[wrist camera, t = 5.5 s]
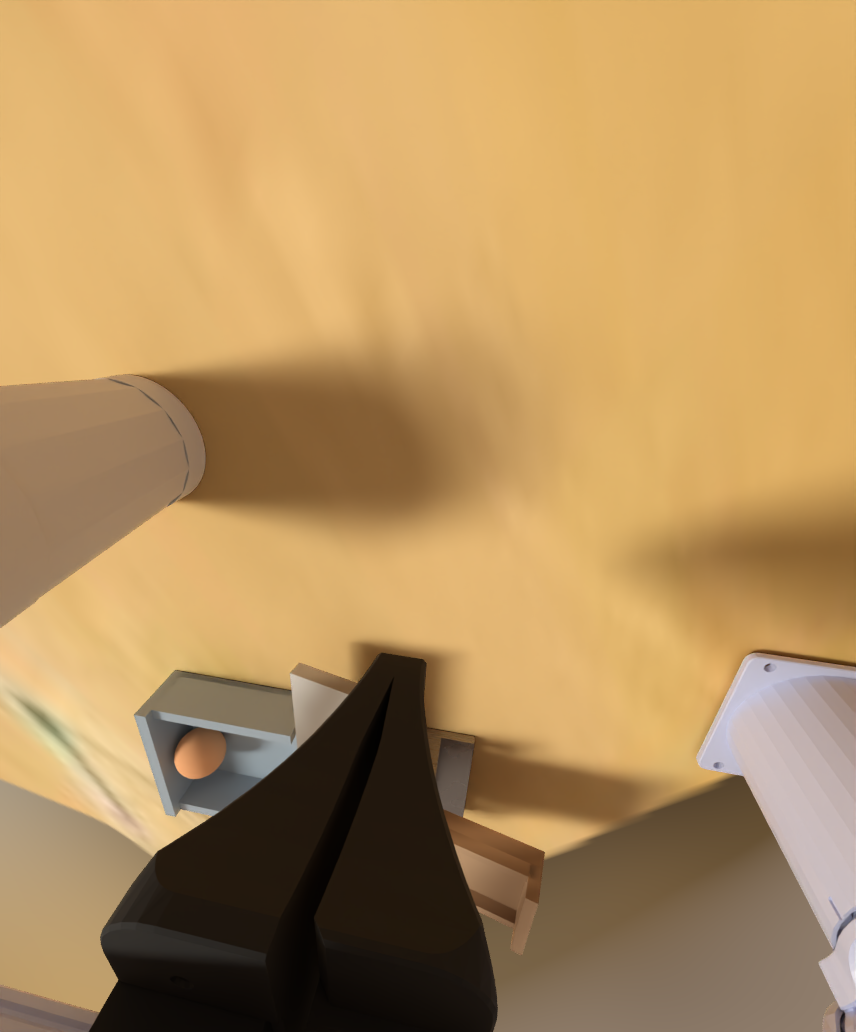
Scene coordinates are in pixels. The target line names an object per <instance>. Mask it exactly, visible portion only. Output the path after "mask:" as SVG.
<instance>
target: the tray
mask: <svg viewBox="0 0 856 1032" xmlns="http://www.w3.org/2000/svg"><path fill="white" fill-rule="evenodd" d="M134 717H135V720H136V723H137V726H138V729H139V732H140V735H141V738H142V742H143V745H144V748H145V751H146V754H147V757H148V760H149V763H150V766H151V770H152V773H153V776H154V779H155V782H156V785H157V788H158V791H159V795H160V798H161V801H162V804H163V807H164V810H165V813H166V815H170V816H175V817H176V815H177V814H178V812H179V811H180V809H182V810H187V811H192V812H196V813H201V814H206V815H210V816H214V815H215V814H216V813H218V812H219V811H221V810H222V809H223V808H225V807H226V806H227V805H229V804H230V803H232V802H233V801H234V800H236V799H237V798H238V797H240V796H241V795H243V794H244V793H245V792H247V791H248V790H249V789H251V788H252V787H253V786H255V785H256V784H257V783H258V782H260V781H261V780H262V779H263V778H264V777H266V776H267V775H268V774H269V773H270V772H272V771H273V770H274V769H275V768H276V767H278V766H279V765H280V764H281V763H282V762H283V761H285V760H286V759H287V758H288V757H289V756H290V755H291V754H292V753H293V752H295V751H296V750H297V740H296V729H295V719H294V709H293V699H292V691H289V690H283V689H278V688H272V687H267V686H261V685H255V684H250V683H244V682H238V681H233V680H227V679H221V678H216V677H210V676H204V675H199V674H193V673H188V672H182V671H176V670H175V671H174V672H173V673H172V674H171V675H170V676H169V677H168V678H167V679H166V681H165V682H164V683H163V684H162V685H161V686H160V687H159V688H158V689H157V690H156V691H155V693H154V694H153V695H152V696H151V697H150V698H149V699H148V700H147V701H146V702H145V703H144V704H143V706H142V707H141V708H140V709H139V710H138V711H137V712H136V713H135V714H134ZM198 727H201V728H207V729H212V730H217V731H220V732H221V733H222V734H223V736H224V738H225V740H226V754H225V757H224V759H223V761H222V763H221V764H220V766H219V767H218V768H217V769H216V770H215V771H214V772H213V773H211V774H210V775H208V776H206V777H203V778H199V779H190V778H187V777H184V776H183V775H181V774H180V773H179V772H178V770H177V769H176V766H175V763H174V754H175V750H176V747H177V745H178V743H179V742H180V740H181V739H182V738H183V737H184V736H185V735H186V734H187V733H188V732H190V731H191V730H193V729H195V728H198Z"/></svg>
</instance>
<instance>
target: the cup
mask: <svg viewBox="0 0 856 1032" xmlns="http://www.w3.org/2000/svg"><path fill="white" fill-rule="evenodd" d="M205 463H206V454H205V446H204V442H203V438H202V435H201V433H200V430H199V428H198V426H197V424H196V422H195V420H194V418H193V417H192V415H191V414H190V412H189V411H188V410H187V408H186V407H185V406H184V405H183V404H182V403H181V401H180V400H179V399H178V398H177V397H175V396H174V395H173V394H172V393H171V392H170V391H168V390H167V389H165V388H164V387H162V386H161V385H159V384H157V383H155V382H153V381H151V380H149V379H146V378H143V377H140V376H135V375H116V376H110V377H104V378H98V379H92V380H79V381H65V382H51V383H37V384H23V385H10V386H0V628H1V627H3V626H4V625H5V624H7V623H8V622H9V621H11V620H12V619H13V618H15V617H16V616H17V615H19V614H20V613H21V612H23V611H24V610H25V609H27V608H28V607H30V606H31V605H32V604H33V603H35V602H36V601H37V600H38V599H39V598H40V597H41V596H42V595H44V594H45V593H47V592H48V591H49V590H51V589H52V588H54V587H55V586H56V585H58V584H59V583H61V582H62V581H63V580H65V579H66V578H68V577H69V576H70V575H72V574H73V573H75V572H76V571H77V570H79V569H80V568H82V567H83V566H84V565H86V564H87V563H89V562H90V561H91V560H93V559H94V558H96V557H97V556H98V555H100V554H101V553H103V552H104V551H105V550H107V549H108V548H110V547H111V546H112V545H114V544H115V543H116V542H118V541H119V540H121V539H122V538H123V537H125V536H126V535H128V534H129V533H130V532H132V531H133V530H135V529H136V528H137V527H139V526H140V525H142V524H143V523H144V522H146V521H147V520H149V519H150V518H151V517H153V516H154V515H156V514H157V513H158V512H160V511H161V510H163V509H164V508H165V507H167V506H169V505H171V504H173V503H174V502H176V501H178V500H180V499H181V498H183V497H185V496H187V495H188V494H190V493H191V492H192V491H193V490H194V489H195V488H196V487H197V486H198V484H199V483H200V481H201V479H202V477H203V474H204V470H205Z"/></svg>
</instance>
